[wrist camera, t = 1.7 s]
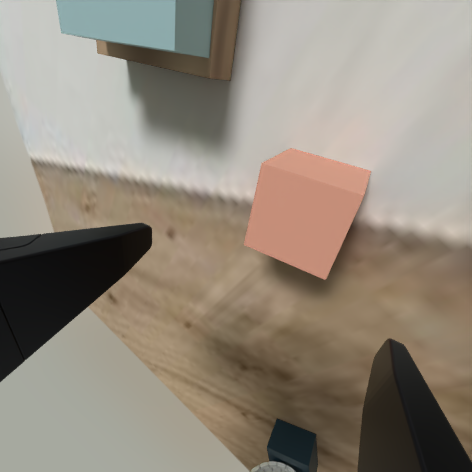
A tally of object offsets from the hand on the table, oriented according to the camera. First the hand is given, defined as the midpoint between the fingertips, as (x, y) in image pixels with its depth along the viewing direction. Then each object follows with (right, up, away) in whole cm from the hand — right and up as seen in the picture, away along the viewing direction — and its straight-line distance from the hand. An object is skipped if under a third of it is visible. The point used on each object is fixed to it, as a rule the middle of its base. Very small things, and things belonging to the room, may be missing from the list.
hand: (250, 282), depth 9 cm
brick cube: (+5, +4, +9) cm, 11 cm away
